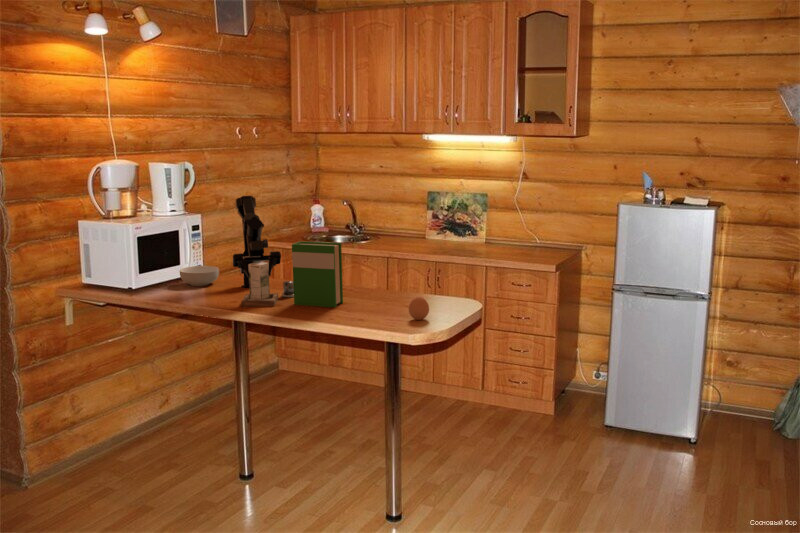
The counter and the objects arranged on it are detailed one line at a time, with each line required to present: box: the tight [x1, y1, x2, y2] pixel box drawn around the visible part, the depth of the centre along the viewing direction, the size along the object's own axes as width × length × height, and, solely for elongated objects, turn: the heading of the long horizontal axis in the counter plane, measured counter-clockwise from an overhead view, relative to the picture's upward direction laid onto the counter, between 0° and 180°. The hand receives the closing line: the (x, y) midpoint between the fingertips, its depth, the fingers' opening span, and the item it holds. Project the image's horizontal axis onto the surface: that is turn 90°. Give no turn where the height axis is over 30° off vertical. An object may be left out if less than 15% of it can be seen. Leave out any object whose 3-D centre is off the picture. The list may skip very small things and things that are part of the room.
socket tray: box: [240, 293, 279, 308], centre depth 309 cm, size 13×13×2 cm
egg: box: [408, 295, 430, 321], centre depth 279 cm, size 7×7×8 cm
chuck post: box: [281, 280, 294, 299], centre depth 319 cm, size 6×6×6 cm
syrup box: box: [248, 261, 271, 300], centre depth 308 cm, size 6×6×14 cm
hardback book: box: [291, 240, 344, 308], centre depth 304 cm, size 18×7×24 cm, turn 71°
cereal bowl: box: [179, 265, 220, 287], centre depth 345 cm, size 17×17×7 cm
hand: (259, 276), depth 306 cm, fingers closed on syrup box, 8 cm apart
